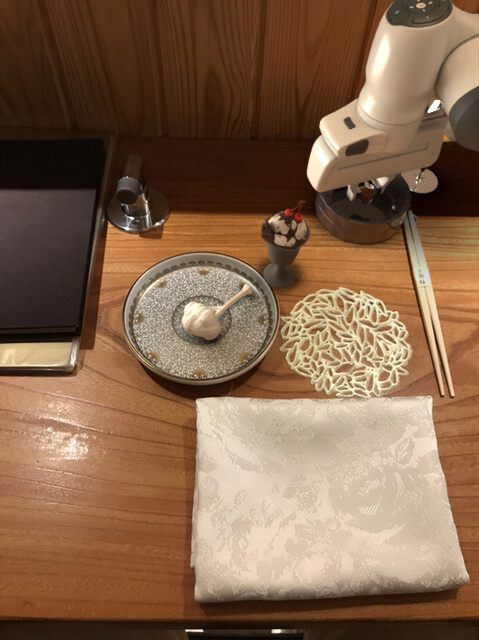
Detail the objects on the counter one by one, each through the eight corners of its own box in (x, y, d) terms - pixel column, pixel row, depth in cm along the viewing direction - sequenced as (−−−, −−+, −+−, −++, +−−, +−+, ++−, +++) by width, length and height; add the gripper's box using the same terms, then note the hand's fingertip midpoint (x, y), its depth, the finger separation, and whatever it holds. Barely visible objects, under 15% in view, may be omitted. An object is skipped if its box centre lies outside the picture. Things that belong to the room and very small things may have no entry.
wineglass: (443, 201, 94) (486, 109, 79) (394, 194, 94) (428, 102, 79) (441, 167, 98) (482, 74, 83) (394, 161, 99) (427, 67, 83)
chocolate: (349, 200, 90) (354, 182, 87) (357, 193, 91) (363, 175, 87) (365, 210, 89) (370, 192, 86) (373, 203, 90) (379, 184, 86)
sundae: (308, 269, 85) (324, 198, 73) (288, 300, 82) (300, 232, 70) (270, 251, 87) (279, 179, 74) (249, 281, 84) (254, 211, 71)
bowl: (377, 173, 97) (385, 151, 93) (417, 234, 90) (427, 212, 86) (301, 191, 94) (305, 168, 90) (336, 255, 87) (342, 233, 83)
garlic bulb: (264, 286, 79) (200, 329, 73) (264, 311, 82) (203, 355, 76) (230, 266, 82) (166, 305, 76) (231, 291, 86) (170, 330, 80)
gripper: (441, 93, 80) (413, 167, 92) (309, 121, 76) (297, 194, 88) (464, 121, 77) (432, 193, 89) (328, 151, 73) (313, 223, 85)
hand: (364, 194), depth 89 cm, fingers closed on chocolate, 3 cm apart
